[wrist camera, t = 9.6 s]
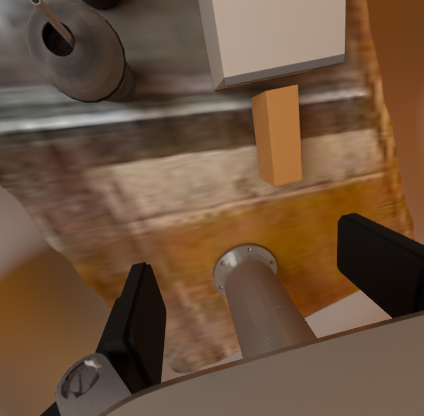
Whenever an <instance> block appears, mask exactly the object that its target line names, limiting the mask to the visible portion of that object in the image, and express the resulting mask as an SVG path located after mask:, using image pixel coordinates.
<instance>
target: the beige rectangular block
mask: <svg viewBox="0 0 424 416" xmlns="http://www.w3.org/2000/svg"><path fill="white" fill-rule="evenodd" d="M198 2H199V8H200V14H201V20H202V25H203V31H204V37H205V43H206V49H207V54H208V60H209V66H210V72H211V78H212V83H213V89H214V91H216V90H221V89H226V88H231V87H236V86H240V85H245V84H250V83H255V82H260V81H265V80H270V79H275V78H280V77H285V76H290V75H295V74H300V73H305V72H307V71H309V70H312V69H317V68H322V67H327V66H332V65H337V64H341V63H343V62H344V58H345V5H346V0H198Z"/></svg>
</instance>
